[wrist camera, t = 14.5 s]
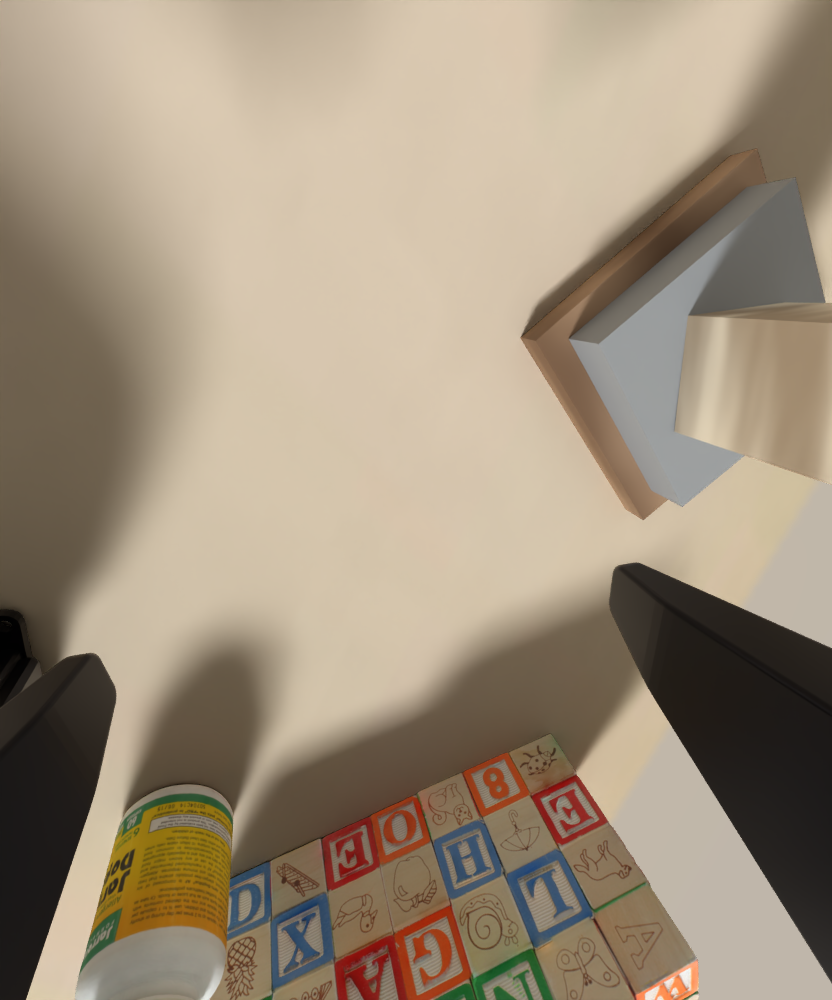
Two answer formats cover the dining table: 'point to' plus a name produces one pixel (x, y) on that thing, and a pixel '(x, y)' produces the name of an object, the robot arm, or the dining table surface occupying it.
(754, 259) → the slate slab
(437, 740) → the dining table surface
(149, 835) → the supplement bottle
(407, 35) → the dining table surface
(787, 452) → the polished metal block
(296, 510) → the dining table surface
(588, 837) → the stack of blocks
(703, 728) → the robot arm
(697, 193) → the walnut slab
